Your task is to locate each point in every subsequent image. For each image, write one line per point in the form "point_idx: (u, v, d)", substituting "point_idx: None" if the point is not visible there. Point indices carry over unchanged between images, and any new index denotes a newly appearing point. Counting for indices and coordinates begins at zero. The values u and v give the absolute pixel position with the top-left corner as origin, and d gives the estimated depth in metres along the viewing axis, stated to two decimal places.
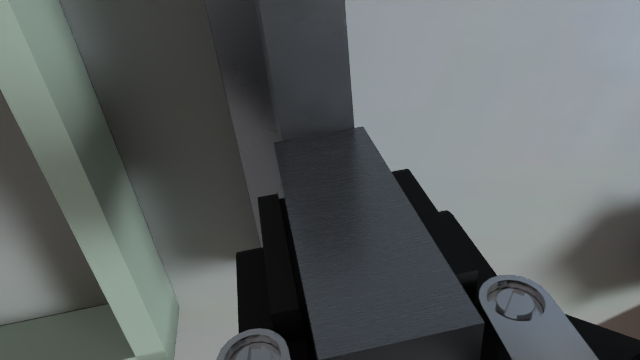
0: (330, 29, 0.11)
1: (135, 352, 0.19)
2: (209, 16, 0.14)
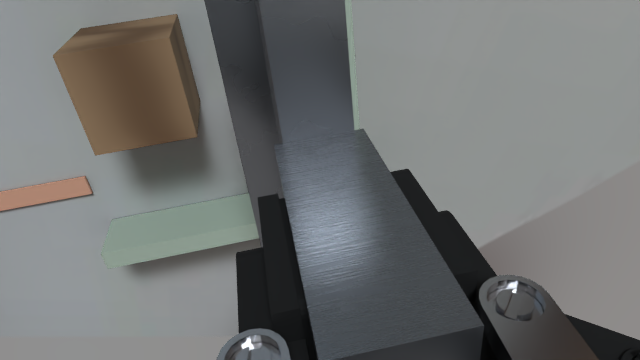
0: (330, 32, 0.11)
1: None
2: (210, 18, 0.14)
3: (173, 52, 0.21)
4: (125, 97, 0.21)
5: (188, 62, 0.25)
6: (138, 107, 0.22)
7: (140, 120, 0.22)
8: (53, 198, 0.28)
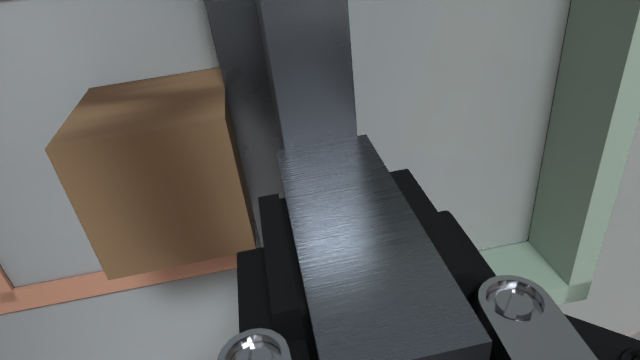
0: (333, 37, 0.11)
1: None
2: (210, 22, 0.14)
3: (229, 138, 0.14)
4: (155, 203, 0.14)
5: None
6: (173, 215, 0.14)
7: (175, 232, 0.15)
8: (191, 274, 0.22)
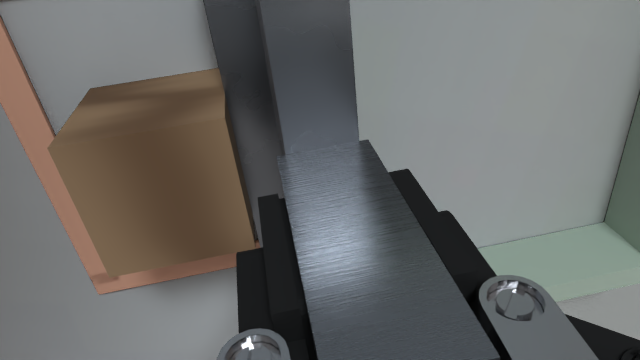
0: (334, 41, 0.11)
1: None
2: (210, 25, 0.14)
3: (229, 137, 0.14)
4: (156, 201, 0.14)
5: None
6: (173, 213, 0.15)
7: (175, 230, 0.15)
8: None
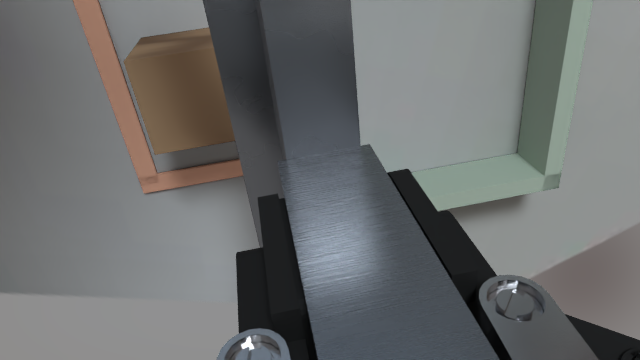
0: (336, 45, 0.11)
1: None
2: (210, 29, 0.14)
3: None
4: (186, 100, 0.23)
5: None
6: (196, 109, 0.23)
7: (197, 122, 0.24)
8: None
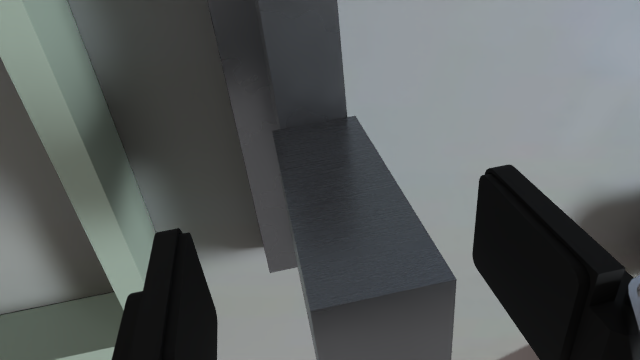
0: (323, 25, 0.12)
1: None
2: (211, 14, 0.15)
3: None
4: None
5: None
6: None
7: None
8: None
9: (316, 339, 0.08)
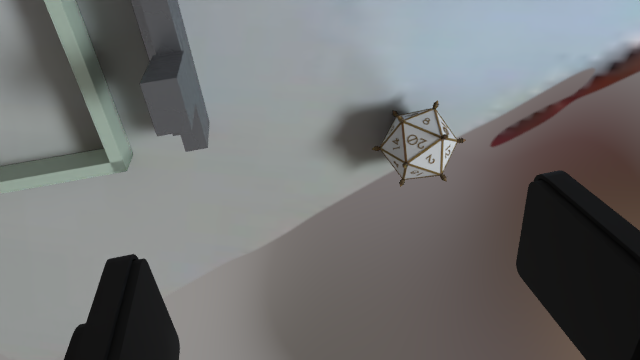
0: (166, 16, 0.36)
1: (109, 160, 0.43)
2: (135, 13, 0.39)
3: None
4: None
5: None
6: None
7: None
8: None
9: (143, 93, 0.32)
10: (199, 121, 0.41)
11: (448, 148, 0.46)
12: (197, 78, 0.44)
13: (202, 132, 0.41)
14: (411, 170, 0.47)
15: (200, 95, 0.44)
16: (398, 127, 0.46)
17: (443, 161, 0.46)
